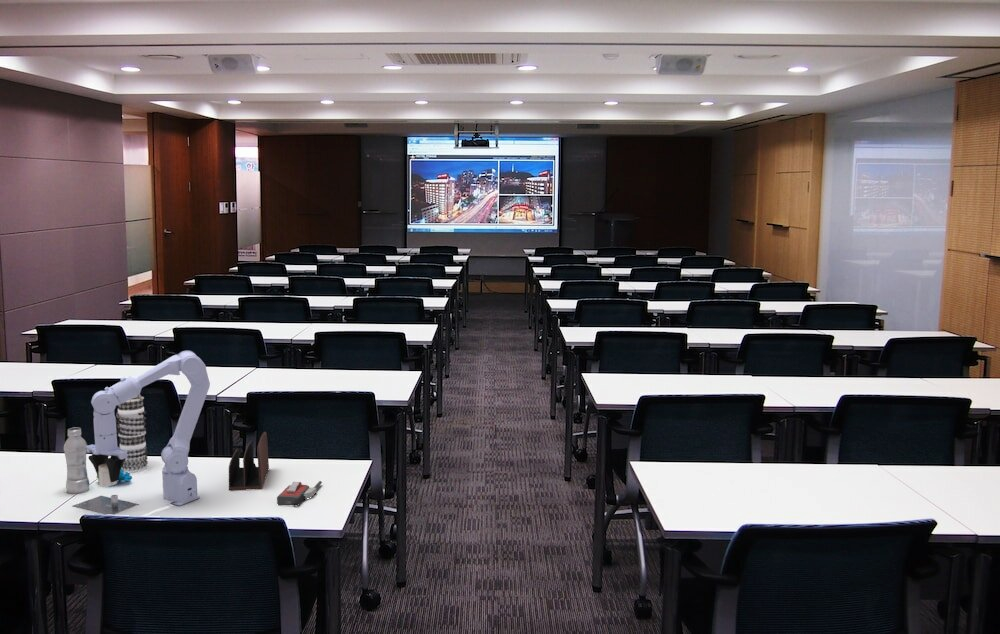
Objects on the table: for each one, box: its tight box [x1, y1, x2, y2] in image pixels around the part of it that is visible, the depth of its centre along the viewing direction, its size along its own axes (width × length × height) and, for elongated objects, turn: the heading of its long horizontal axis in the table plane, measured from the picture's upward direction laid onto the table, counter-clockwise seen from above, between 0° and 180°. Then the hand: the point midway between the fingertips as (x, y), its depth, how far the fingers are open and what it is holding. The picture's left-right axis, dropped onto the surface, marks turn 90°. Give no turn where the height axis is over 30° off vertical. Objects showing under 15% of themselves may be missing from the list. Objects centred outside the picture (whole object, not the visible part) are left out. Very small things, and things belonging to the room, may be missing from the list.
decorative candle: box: [115, 393, 149, 473], centre depth 288 cm, size 9×9×25 cm
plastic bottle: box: [63, 427, 91, 495], centre depth 264 cm, size 6×7×20 cm
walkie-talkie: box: [276, 480, 323, 506], centre depth 265 cm, size 9×4×20 cm
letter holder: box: [228, 431, 270, 491], centre depth 278 cm, size 10×20×14 cm, turn 8°
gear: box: [96, 469, 133, 488], centre depth 271 cm, size 11×6×10 cm
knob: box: [98, 463, 118, 487], centre depth 251 cm, size 4×4×6 cm
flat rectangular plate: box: [71, 494, 140, 515], centre depth 253 cm, size 16×10×4 cm, turn 63°
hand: (108, 479), depth 251 cm, fingers closed on knob, 4 cm apart
